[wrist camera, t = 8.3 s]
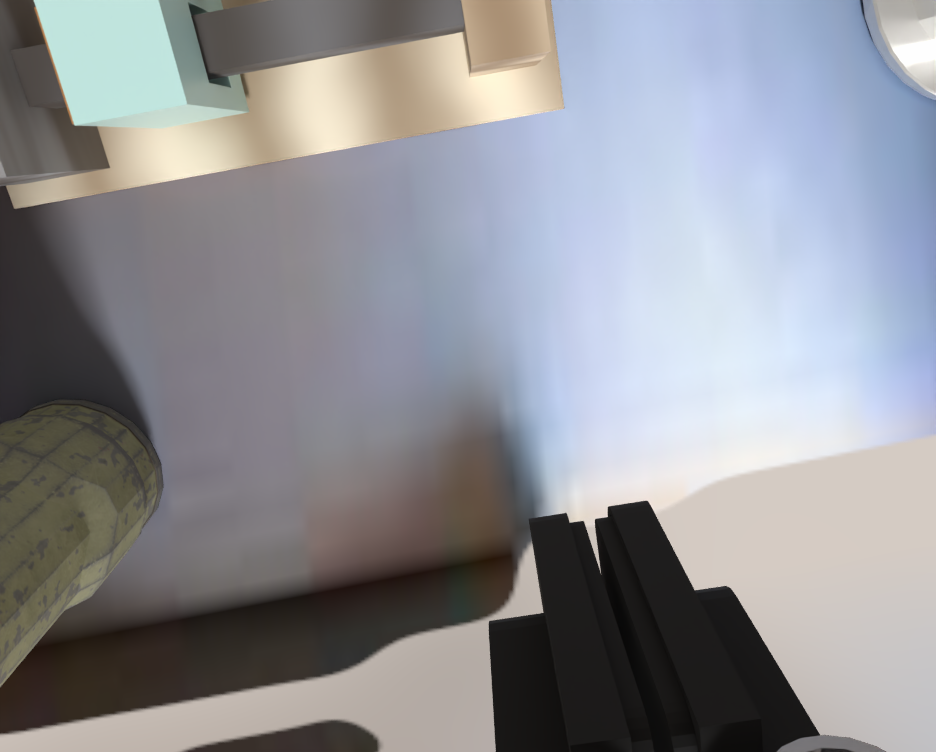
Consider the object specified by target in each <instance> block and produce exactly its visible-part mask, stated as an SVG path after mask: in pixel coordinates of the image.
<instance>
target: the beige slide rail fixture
mask: <svg viewBox="0 0 936 752" xmlns="http://www.w3.org/2000/svg"><path fill="white" fill-rule="evenodd" d="M221 2H222V6H223V10H218V11H213V12H208V13H202V14H197V15H192V16H191V17H192V21H193V24H194V28H195V32H196V36H197V39H198V43H199V47H200V51H201V54H202V58H203V62H204V66H205V69H206V73H207V77H208V80H211V79H216V78H222V77H227V76H232V75H238V74H240V77H241V81H242V85H243V89H244V93H245V97H246V101H247V105H248V109H249V112H248V113H242V114H237V115H231V116H226V117H221V118H215V119H210V120H205V121H199V122H194V123H188V124H183V125H178V126H172V127H167V128H133V127H104V126H75V125H74V122H73V119H72V116H71V113H70V110H69V107H68V104H67V101H66V98H65V95H64V92H63V89H62V86H61V82H60V79H59V76H58V73H57V70H56V67H55V64H54V61H53V58H52V55H51V52H50V49H49V46H48V43H47V40H46V36H45V33H44V30H43V27H42V24H41V21H40V18H39V15H38V12H37V9H36V6H35V3H34V0H0V186H6V187H7V190H8V193H9V195H10V198H11V201H12V204H13V206H14V209H17V208H24V207H29V206H35V205H40V204H46V203H51V202H57V201H62V200H68V199H73V198H79V197H84V196H90V195H95V194H101V193H106V192H112V191H117V190H122V189H128V188H133V187H139V186H144V185H150V184H155V183H161V182H166V181H172V180H177V179H183V178H188V177H194V176H199V175H205V174H210V173H215V172H221V171H226V170H232V169H237V168H243V167H248V166H254V165H259V164H265V163H270V162H276V161H281V160H287V159H292V158H298V157H303V156H308V155H314V154H319V153H325V152H330V151H336V150H341V149H347V148H352V147H358V146H363V145H369V144H374V143H380V142H385V141H391V140H396V139H401V138H407V137H412V136H418V135H423V134H429V133H434V132H440V131H445V130H451V129H456V128H462V127H467V126H473V125H478V124H483V123H489V122H494V121H500V120H505V119H511V118H516V117H522V116H527V115H533V114H538V113H544V112H549V111H555V110H560V109H564V103H563V95H562V87H561V79H560V70H559V62H558V54H557V46H556V38H555V30H554V21H553V13H552V5H551V0H221Z"/></svg>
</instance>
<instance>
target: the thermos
mask: <svg viewBox="0 0 936 752" xmlns="http://www.w3.org/2000/svg"><path fill="white" fill-rule="evenodd" d="M162 490H163V478H162V469H161V463H160V461H159V459H158V457H157V455H156V452H155V450H154V448H153V446H152V444H151V442H150V441H149V440H148V438H147V437H146V436H145V435H144V434H143V433H142V432H141V431H140V429H139V428H138V427H137V426H136V425H135V424H134V423H133V422H132V421H130V420H128V419H127V418H125V417H124V416H122V415H121V414H119V413H118V412H116V411H115V410H113V409H111V408H109V407H106V406H102V405H99V404H96V403H93V402H90V401H87V400H66V399H59V400H55V401H52V402H48V403H45V404H41V405H38V406H35V407H33V408H32V409H30V410H29V411H27V412H26V413H25V414H23V415H22V416H20V417H19V418H17V419H13V420H9V421H6V422H3V423H2V424H0V687H1V685H2V684H3V683H4V682H5V681H6V680H7V678H8V677H9V676H10V675H11V674H12V672H13V671H14V670H15V669H16V668H17V666H18V665H19V664H20V663H21V662H22V660H23V659H24V658H25V657H26V656H27V654H28V653H29V652H30V651H31V650H32V649H33V647H34V646H35V645H36V644H37V643H38V641H39V640H40V639H41V638H42V637H43V635H44V634H45V633H46V632H47V631H48V629H49V628H50V627H51V626H52V625H53V623H54V622H55V621H56V620H57V619H58V617H59V616H60V615H61V614H62V613H63V612H64V611H65V610H67V609H69V608H70V607H72V606H74V605H76V604H78V603H80V602H82V601H84V600H86V599H88V598H90V597H91V596H92V595H93V594H94V593H95V592H96V590H97V589H98V588H99V587H100V585H101V584H102V583H103V582H104V580H105V579H106V578H107V577H108V575H109V574H110V573H111V572H112V570H113V569H114V568H115V567H116V565H117V564H118V563H119V562H120V560H121V559H122V558H123V557H124V555H125V554H126V553H127V552H128V550H129V549H130V548H131V546H132V545H133V543H134V542H135V541H136V539H137V538H138V537H139V535H140V534H141V531H142V528H143V527H144V526H145V525H146V523H147V522H148V521H149V519H150V518H151V516H152V515H153V514H154V512H155V511H156V510H157V508H158V506H159V502H160V498H161V494H162Z"/></svg>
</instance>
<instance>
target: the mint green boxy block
mask: <svg viewBox="0 0 936 752" xmlns="http://www.w3.org/2000/svg"><path fill="white" fill-rule="evenodd" d="M34 3H35V6H36V9H37V12H38V15H39V18H40V21H41V24H42V27H43V30H44V33H45V36H46V40H47V43H48V46H49V49H50V52H51V55H52V58H53V61H54V64H55V67H56V70H57V73H58V76H59V79H60V82H61V86H62V89H63V92H64V95H65V98H66V101H67V104H68V107H69V110H70V113H71V116H72V119H73V122H74V125H75V126H104V127H133V128H167V127H172V126H178V125H183V124H188V123H194V122H199V121H205V120H210V119H215V118H221V117H226V116H231V115H237V114H242V113H248V112H249V109H248V105H247V101H246V97H245V93H244V89H243V85H242V81H241V77H240V74H238V75H232V76H227V77H222V78H216V79H211V80H208V77H207V73H206V69H205V66H204V62H203V58H202V54H201V51H200V47H199V43H198V39H197V36H196V32H195V28H194V24H193V21H192V17H191V16H192V15H197V14H202V13H208V12H213V11H218V10H223V6H222V2H221V0H34Z"/></svg>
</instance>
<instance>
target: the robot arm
mask: <svg viewBox="0 0 936 752" xmlns="http://www.w3.org/2000/svg"><path fill="white" fill-rule="evenodd" d="M863 6H864V13H865V19H866V22H867V25H868V28H869V30H870V33H871V36H872V39H873V42H874V44H875V46H876V48H877V49H878V51H879V53H880V54H881V56H882V58H883V59H884V61H885V63H886V64H887V66H888V67H889V68H890V69H891V70H892V71H893V72H894V73H895V74H896V75H897V76H898V77H899V78H900V79H901V80H902V82H903V83H905V84H906V85H908V86H909V87H911V88H912V89H914V90H915V91H917V92H918V93H920V94H922V95H923V96H925V97H928V98H930V99H933V100H936V0H863ZM529 524H530V530H531V537H532V543H533V549H534V555H535V561H536V568H537V574H538V580H539V587H540V592H541V599H542V605H543V612H544V613H541V614H534V615H528V616H521V617H514V618H507V619H500V620H494V621H489V641H490V659H491V675H492V692H493V709H494V726H495V744H496V752H886V751H884V750H882V749H880V748H879V747H877V746H874V745H871V744H868V743H865V742H861V741H858V740H855V739H852V738H847V737H838V736H829V735H820V734H819V732H818V731H817V729H816V727H815V726H814V724H813V723H812V721H811V719H810V717H809V716H808V714H807V713H806V711H805V709H804V708H803V706H802V704H801V703H800V701H799V699H798V698H797V696H796V694H795V693H794V691H793V690H792V688H791V686H790V684H789V683H788V681H787V679H786V678H785V676H784V674H783V673H782V671H781V669H780V668H779V666H778V665H777V663H776V661H775V660H774V658H773V656H772V655H771V653H770V651H769V650H768V648H767V646H766V645H765V643H764V641H763V640H762V638H761V636H760V635H759V633H758V631H757V630H756V628H755V627H754V625H753V623H752V621H751V620H750V618H749V617H748V615H747V613H746V612H745V610H744V608H743V607H742V605H741V603H740V602H739V600H738V598H737V597H736V595H735V594H734V592H733V591H732V590H731V588H729V587H727V586H723V587H716V588H709V589H703V590H696V591H695V590H694V589H693V587H692V584H691V583H690V581H689V579H688V577H687V575H686V573H685V571H684V569H683V567H682V565H681V563H680V561H679V559H678V557H677V556H676V554H675V552H674V550H673V548H672V546H671V544H670V542H669V540H668V538H667V536H666V534H665V532H664V531H663V529H662V527H661V525H660V523H659V521H658V519H657V517H656V515H655V513H654V511H653V509H652V507H651V505H650V504H649V502H648V501H641V502H635V503H628V504H622V505H615V506H609V507H608V517H606V518H599V519H595V528H596V536H597V545H598V552H599V560H600V568H601V573H600V570H599V567H598V564H597V561H596V557H595V554H594V551H593V548H592V545H591V542H590V539H589V536H588V533H587V530H586V527H585V524H584V521H579V522H573V523H569V519H568V516H567V513H564V514H557V515H551V516H544V517H538V518H531V519H529Z"/></svg>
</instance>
